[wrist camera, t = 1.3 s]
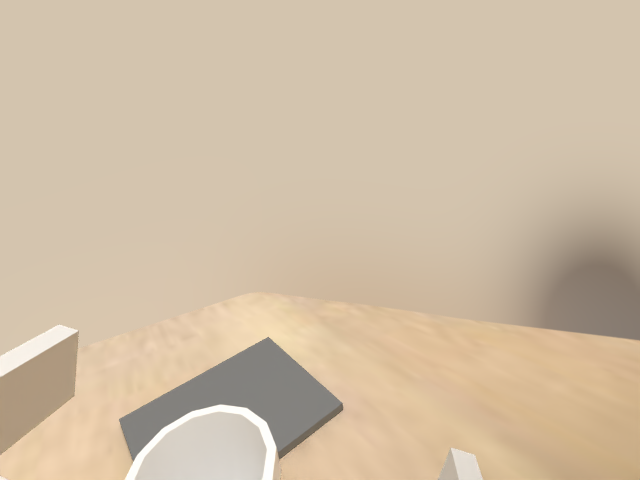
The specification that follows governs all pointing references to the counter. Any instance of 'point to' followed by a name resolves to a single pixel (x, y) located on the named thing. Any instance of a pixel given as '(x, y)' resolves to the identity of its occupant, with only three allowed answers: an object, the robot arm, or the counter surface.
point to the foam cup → (210, 448)
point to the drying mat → (243, 398)
